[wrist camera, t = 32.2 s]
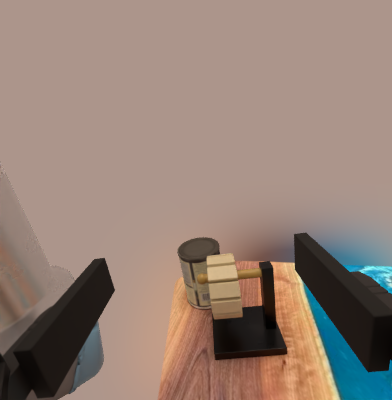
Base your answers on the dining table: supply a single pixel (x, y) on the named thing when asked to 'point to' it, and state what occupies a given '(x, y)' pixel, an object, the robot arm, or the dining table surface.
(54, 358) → the robot arm
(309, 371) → the dining table surface
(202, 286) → the coffee can
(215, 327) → the hook stand
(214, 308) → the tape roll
